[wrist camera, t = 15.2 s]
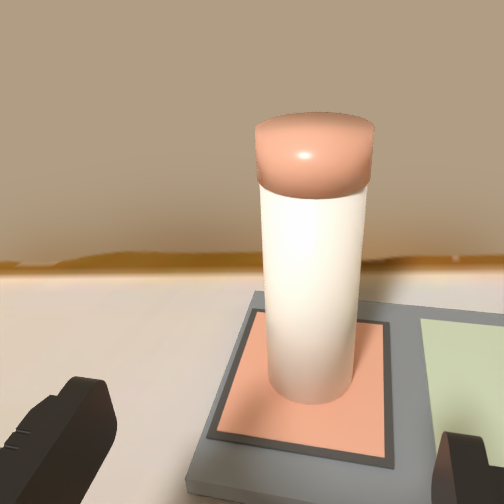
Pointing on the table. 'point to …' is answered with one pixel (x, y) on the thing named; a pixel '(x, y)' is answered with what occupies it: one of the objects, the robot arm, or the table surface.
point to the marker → (312, 247)
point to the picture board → (356, 412)
